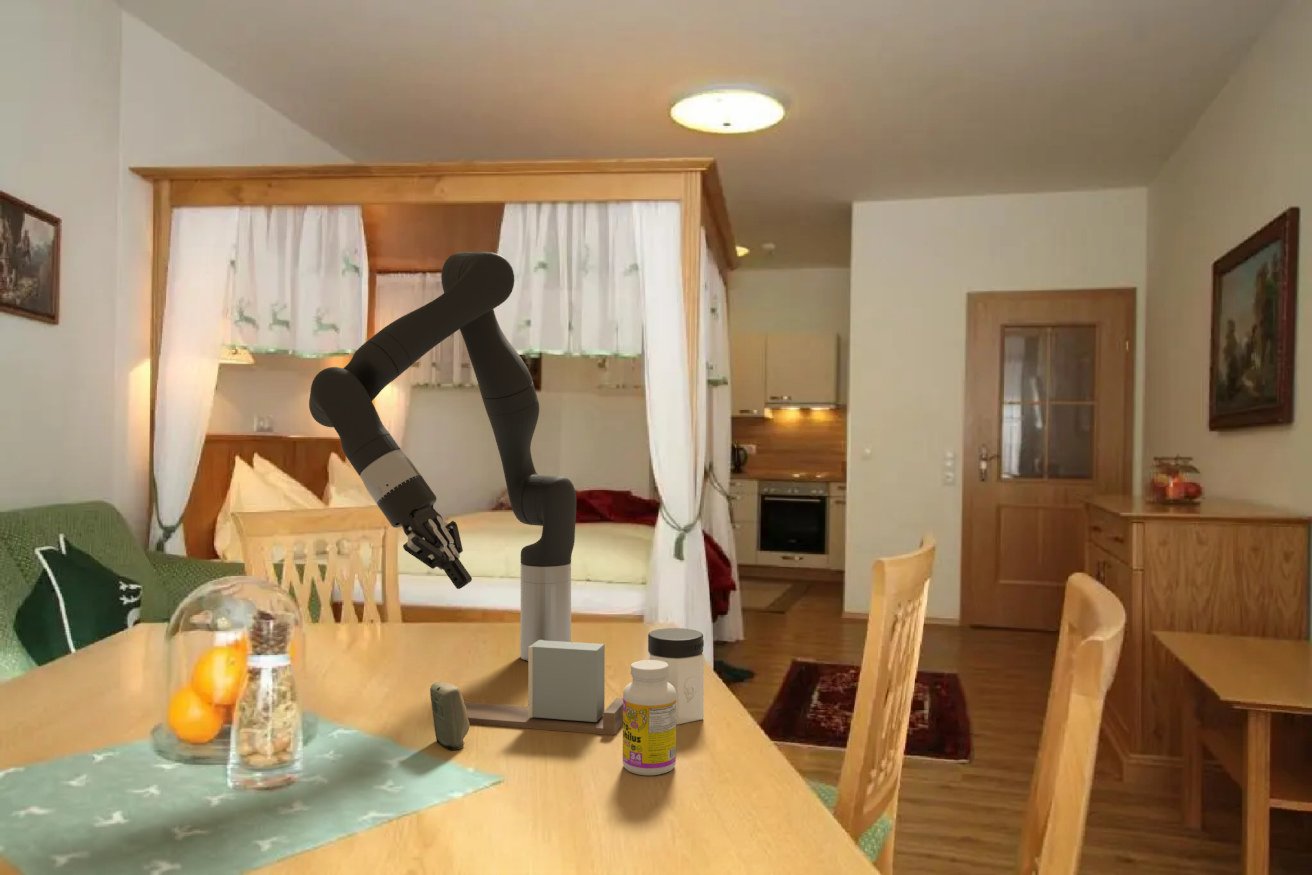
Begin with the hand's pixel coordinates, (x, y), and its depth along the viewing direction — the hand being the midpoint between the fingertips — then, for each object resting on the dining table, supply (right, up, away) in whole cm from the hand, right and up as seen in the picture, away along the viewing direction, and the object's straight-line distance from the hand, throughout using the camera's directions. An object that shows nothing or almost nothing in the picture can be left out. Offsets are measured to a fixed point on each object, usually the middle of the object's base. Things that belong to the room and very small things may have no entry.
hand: (465, 584), depth 134 cm
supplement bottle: (+27, -20, -19) cm, 39 cm away
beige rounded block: (0, -20, -11) cm, 23 cm away
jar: (+31, -20, +1) cm, 36 cm away
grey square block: (+15, -18, -2) cm, 24 cm away
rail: (+9, -19, -1) cm, 22 cm away
